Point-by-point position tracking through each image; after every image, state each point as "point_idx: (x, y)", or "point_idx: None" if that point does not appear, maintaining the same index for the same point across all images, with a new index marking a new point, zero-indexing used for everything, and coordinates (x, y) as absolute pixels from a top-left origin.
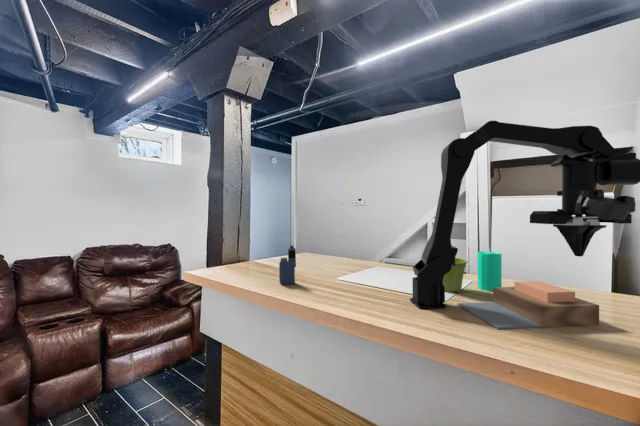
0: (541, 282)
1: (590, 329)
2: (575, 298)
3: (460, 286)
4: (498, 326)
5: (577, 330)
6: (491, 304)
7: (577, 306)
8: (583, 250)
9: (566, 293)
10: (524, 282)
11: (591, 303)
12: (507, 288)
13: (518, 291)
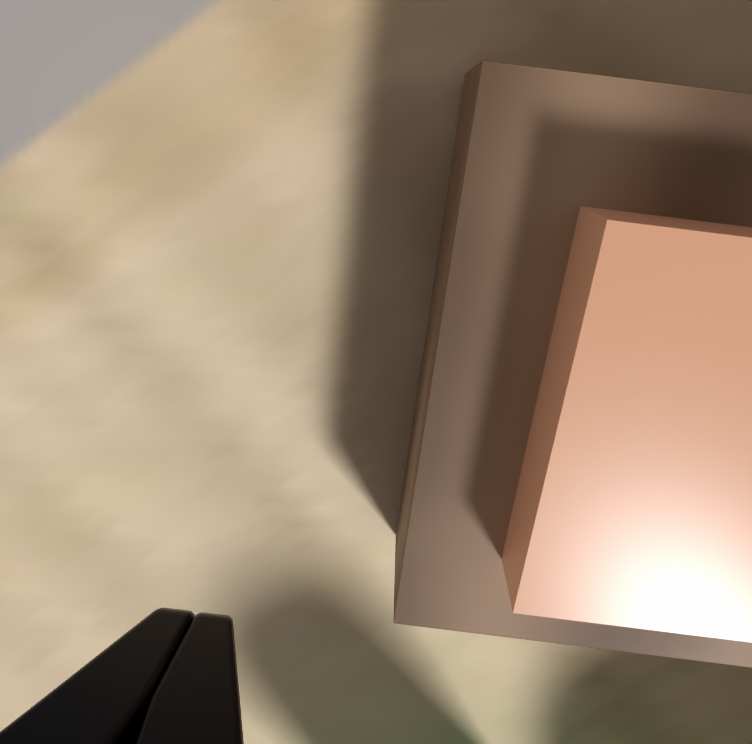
0: (546, 566)
1: (617, 22)
2: (472, 280)
3: None
4: None
5: (736, 27)
6: None
7: (711, 89)
8: (126, 680)
9: (703, 229)
10: (713, 600)
11: (498, 119)
12: None
13: None
